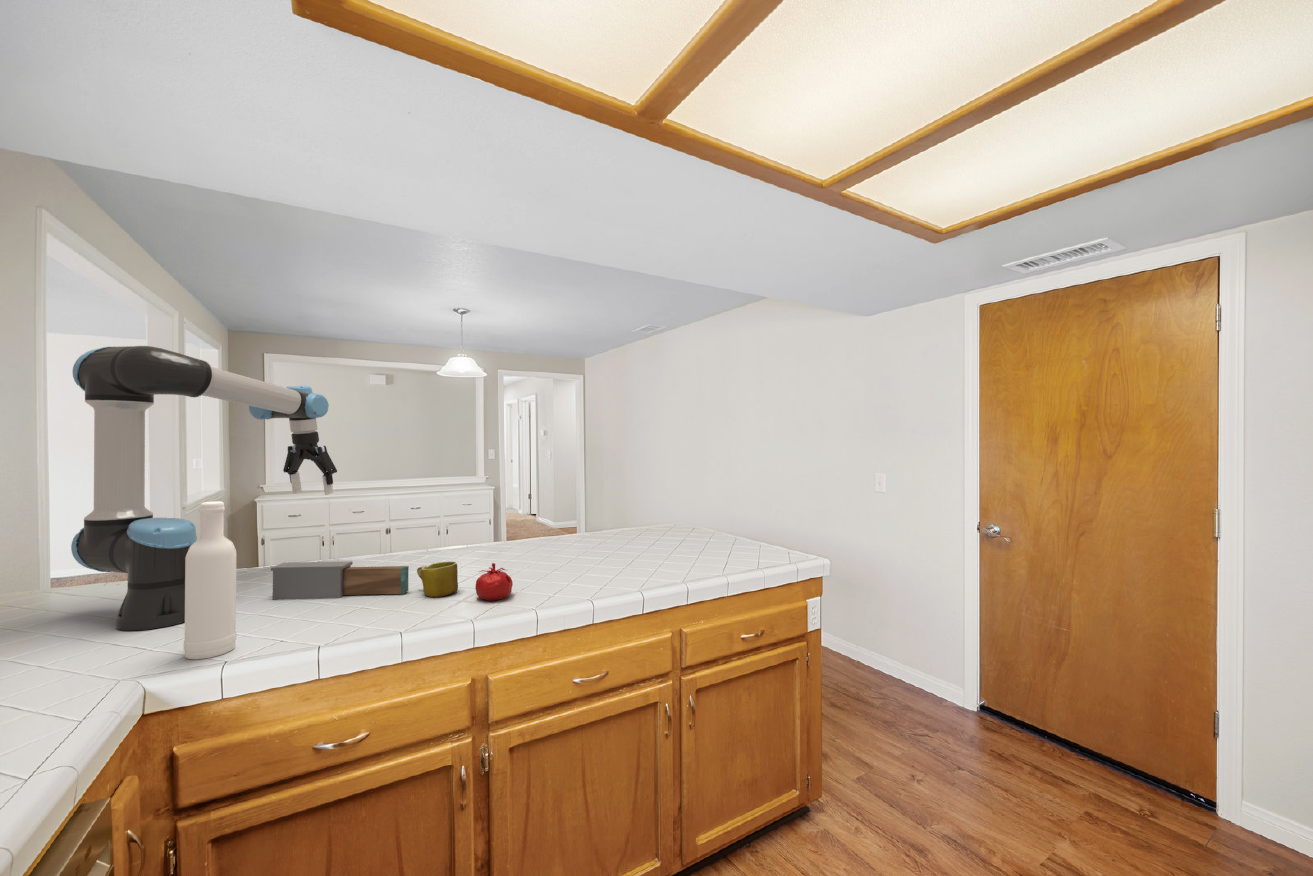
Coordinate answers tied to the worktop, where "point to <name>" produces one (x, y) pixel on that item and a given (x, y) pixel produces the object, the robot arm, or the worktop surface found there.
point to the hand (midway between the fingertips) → (313, 493)
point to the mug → (439, 578)
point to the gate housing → (308, 580)
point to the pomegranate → (493, 584)
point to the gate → (375, 580)
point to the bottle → (210, 588)
